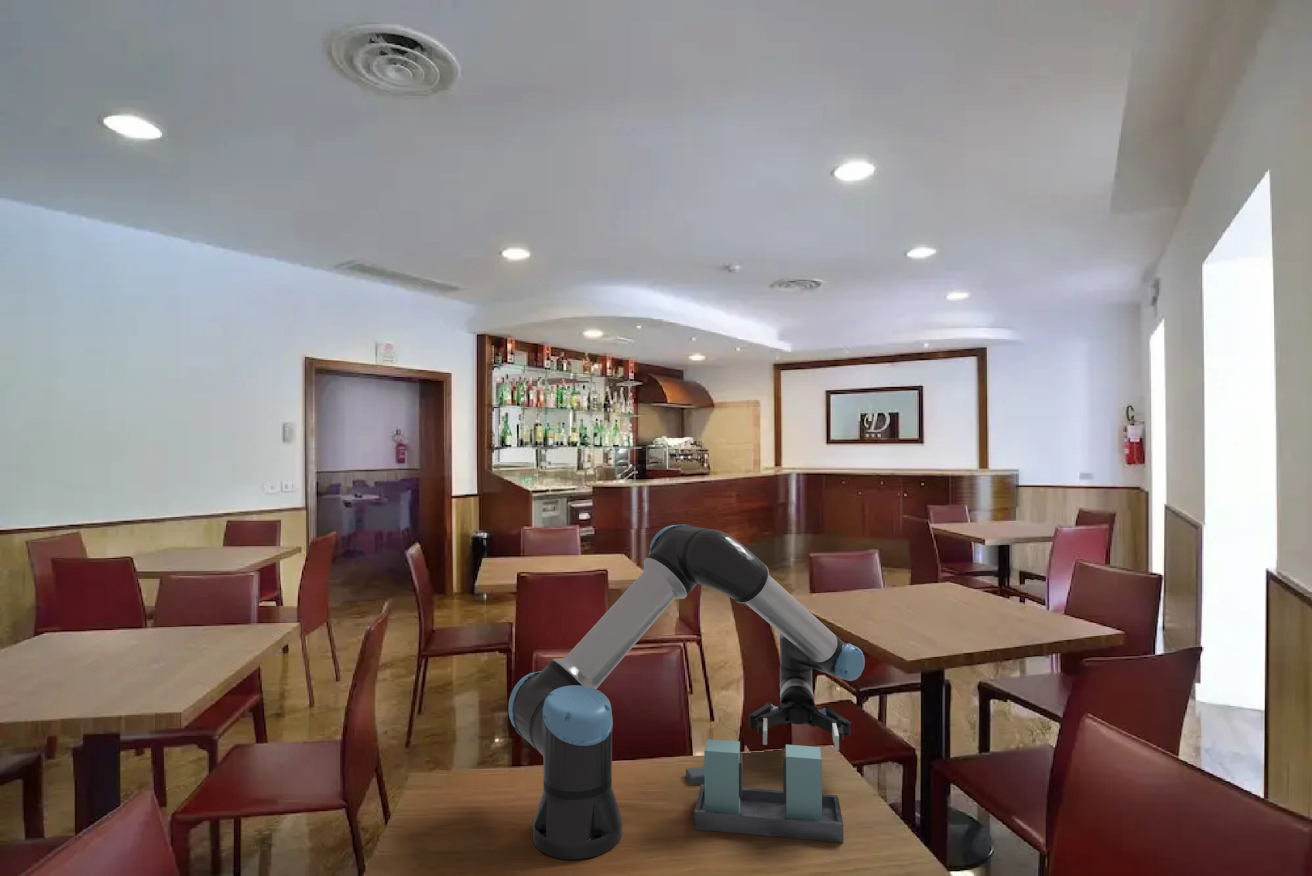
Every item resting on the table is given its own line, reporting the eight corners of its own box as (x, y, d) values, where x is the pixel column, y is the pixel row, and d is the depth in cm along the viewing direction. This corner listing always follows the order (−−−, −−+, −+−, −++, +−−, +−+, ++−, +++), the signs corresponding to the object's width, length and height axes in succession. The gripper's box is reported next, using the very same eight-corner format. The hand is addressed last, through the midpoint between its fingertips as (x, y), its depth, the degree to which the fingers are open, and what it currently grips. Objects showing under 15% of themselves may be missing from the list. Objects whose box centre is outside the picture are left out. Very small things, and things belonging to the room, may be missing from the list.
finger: (783, 820, 118) (783, 756, 119) (783, 805, 123) (782, 744, 123) (822, 823, 117) (821, 759, 117) (820, 809, 122) (819, 746, 122)
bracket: (685, 778, 138) (685, 768, 138) (733, 771, 141) (733, 761, 141) (691, 787, 134) (691, 777, 134) (740, 780, 137) (740, 770, 137)
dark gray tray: (694, 829, 118) (694, 811, 118) (700, 800, 128) (700, 784, 128) (843, 842, 114) (843, 824, 114) (838, 811, 124) (837, 795, 124)
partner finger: (704, 813, 121) (704, 750, 121) (707, 799, 125) (707, 739, 126) (741, 816, 119) (741, 753, 120) (743, 802, 124) (742, 741, 125)
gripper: (855, 722, 150) (867, 765, 129) (741, 714, 154) (735, 754, 134) (855, 688, 150) (867, 725, 130) (741, 681, 155) (735, 715, 134)
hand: (800, 740), depth 132 cm, fingers open, 13 cm apart
